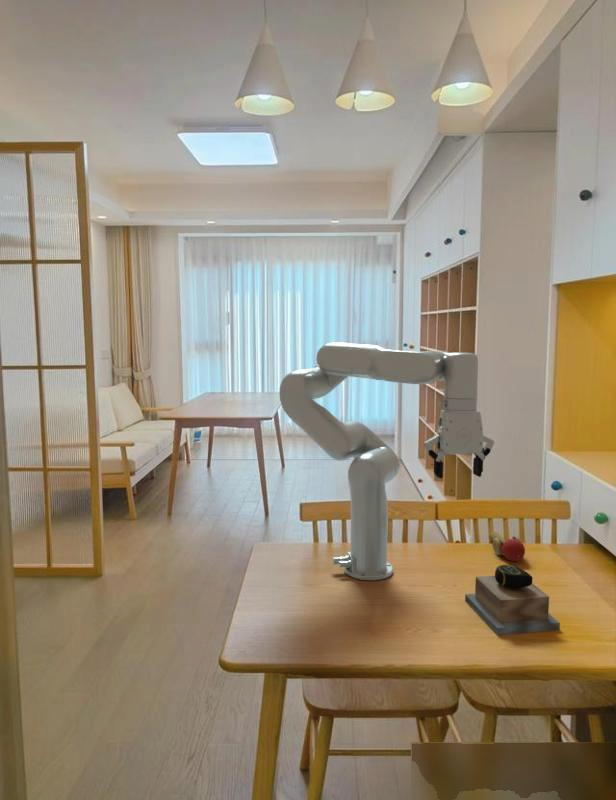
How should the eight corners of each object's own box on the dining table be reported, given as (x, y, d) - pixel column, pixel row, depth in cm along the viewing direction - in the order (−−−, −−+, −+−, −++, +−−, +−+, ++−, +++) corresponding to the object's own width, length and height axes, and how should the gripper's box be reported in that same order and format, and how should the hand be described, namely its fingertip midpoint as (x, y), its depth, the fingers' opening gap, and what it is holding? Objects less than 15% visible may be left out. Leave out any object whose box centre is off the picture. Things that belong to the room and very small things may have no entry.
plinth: (497, 635, 122) (498, 605, 121) (465, 600, 137) (465, 573, 137) (559, 629, 124) (561, 600, 123) (520, 596, 140) (521, 569, 139)
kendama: (478, 546, 176) (501, 561, 158) (481, 525, 176) (505, 537, 158) (503, 550, 176) (529, 565, 158) (506, 529, 177) (533, 542, 159)
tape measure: (533, 590, 128) (534, 573, 127) (505, 593, 126) (506, 576, 126) (515, 577, 134) (516, 562, 134) (488, 580, 133) (489, 564, 132)
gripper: (430, 407, 133) (429, 481, 135) (502, 406, 136) (499, 478, 138) (419, 403, 140) (418, 473, 142) (487, 402, 143) (485, 471, 145)
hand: (458, 476), depth 140 cm, fingers open, 9 cm apart
